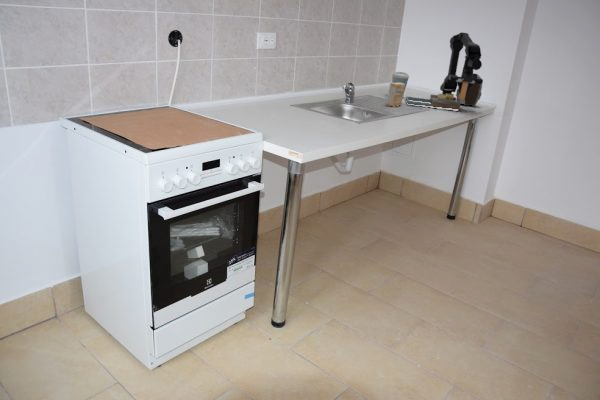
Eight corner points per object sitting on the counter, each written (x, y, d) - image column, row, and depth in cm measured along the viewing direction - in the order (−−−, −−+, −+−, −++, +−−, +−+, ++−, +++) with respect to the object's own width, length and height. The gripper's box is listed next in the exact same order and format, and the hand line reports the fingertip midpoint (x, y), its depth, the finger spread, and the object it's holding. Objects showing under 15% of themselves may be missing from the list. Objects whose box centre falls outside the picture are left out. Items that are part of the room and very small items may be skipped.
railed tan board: (429, 103, 305) (431, 94, 303) (453, 106, 304) (455, 97, 302) (432, 108, 291) (434, 99, 289) (458, 111, 291) (460, 102, 288)
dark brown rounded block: (454, 104, 310) (461, 72, 302) (453, 101, 318) (460, 70, 310) (478, 108, 307) (486, 75, 299) (477, 105, 315) (485, 73, 307)
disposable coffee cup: (406, 99, 308) (411, 75, 302) (389, 97, 308) (393, 73, 302) (403, 96, 318) (408, 72, 312) (387, 94, 318) (391, 70, 312)
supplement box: (392, 107, 283) (396, 84, 278) (386, 105, 287) (390, 82, 281) (401, 106, 288) (405, 83, 283) (395, 104, 292) (399, 82, 286)
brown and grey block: (456, 100, 300) (460, 80, 295) (461, 100, 300) (465, 80, 295) (459, 103, 291) (464, 83, 286) (464, 104, 291) (469, 83, 286)
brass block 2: (444, 99, 300) (446, 93, 298) (451, 100, 300) (452, 93, 298) (445, 101, 296) (447, 94, 295) (452, 101, 296) (454, 95, 294)
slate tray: (405, 100, 305) (406, 96, 304) (431, 103, 304) (432, 99, 303) (407, 105, 292) (408, 101, 291) (434, 108, 292) (435, 104, 291)
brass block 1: (436, 100, 296) (438, 93, 294) (443, 100, 296) (444, 94, 294) (437, 101, 292) (439, 94, 291) (444, 102, 292) (446, 95, 290)
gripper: (455, 67, 280) (449, 94, 287) (488, 71, 279) (481, 98, 286) (451, 64, 291) (445, 90, 297) (483, 68, 290) (476, 94, 296)
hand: (462, 93), depth 294 cm, fingers closed on brown and grey block, 3 cm apart
